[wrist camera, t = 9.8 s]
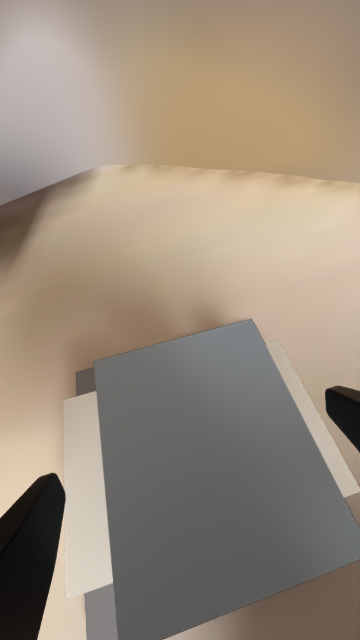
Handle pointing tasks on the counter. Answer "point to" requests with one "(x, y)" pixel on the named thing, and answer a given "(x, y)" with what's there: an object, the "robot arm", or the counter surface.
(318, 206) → the counter surface
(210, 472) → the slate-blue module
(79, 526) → the board
